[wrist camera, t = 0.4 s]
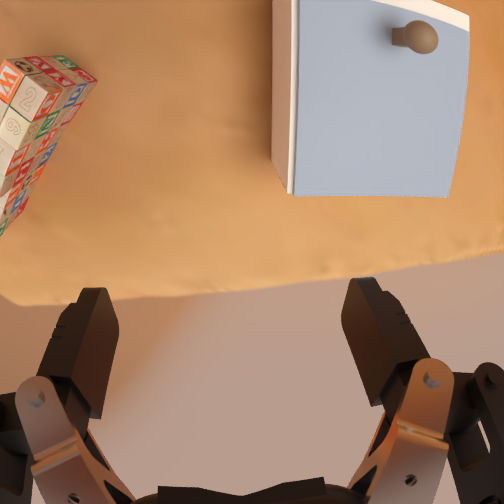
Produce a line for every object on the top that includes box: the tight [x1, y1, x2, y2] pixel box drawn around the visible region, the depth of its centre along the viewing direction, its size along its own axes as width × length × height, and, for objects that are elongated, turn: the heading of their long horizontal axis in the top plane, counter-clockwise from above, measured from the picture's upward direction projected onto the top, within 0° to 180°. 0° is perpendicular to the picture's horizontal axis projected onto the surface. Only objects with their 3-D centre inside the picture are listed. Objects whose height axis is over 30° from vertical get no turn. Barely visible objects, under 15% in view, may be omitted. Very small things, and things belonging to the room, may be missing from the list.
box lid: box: [293, 0, 470, 198], centre depth 22 cm, size 18×17×6 cm
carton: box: [271, 0, 469, 194], centre depth 28 cm, size 20×18×10 cm
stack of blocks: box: [0, 56, 98, 236], centre depth 26 cm, size 21×6×12 cm, turn 136°
